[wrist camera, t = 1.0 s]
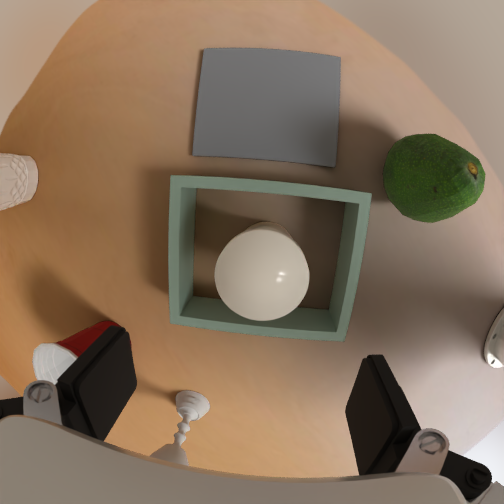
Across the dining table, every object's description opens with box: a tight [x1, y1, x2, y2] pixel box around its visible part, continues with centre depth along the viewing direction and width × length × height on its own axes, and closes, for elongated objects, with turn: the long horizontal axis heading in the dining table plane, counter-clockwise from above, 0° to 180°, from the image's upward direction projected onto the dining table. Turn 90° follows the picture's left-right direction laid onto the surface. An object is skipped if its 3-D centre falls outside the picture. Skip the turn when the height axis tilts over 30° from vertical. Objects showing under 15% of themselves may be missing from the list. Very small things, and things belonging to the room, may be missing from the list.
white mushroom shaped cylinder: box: [215, 222, 309, 321], centre depth 25 cm, size 7×7×9 cm
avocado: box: [383, 134, 485, 223], centre depth 20 cm, size 8×8×12 cm
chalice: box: [150, 390, 210, 466], centre depth 27 cm, size 7×7×18 cm
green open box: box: [168, 175, 372, 342], centre depth 27 cm, size 17×14×5 cm
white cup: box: [0, 153, 38, 211], centre depth 25 cm, size 8×8×10 cm
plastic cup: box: [32, 321, 131, 385], centre depth 28 cm, size 11×11×12 cm
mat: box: [192, 48, 341, 167], centre depth 25 cm, size 14×12×1 cm
